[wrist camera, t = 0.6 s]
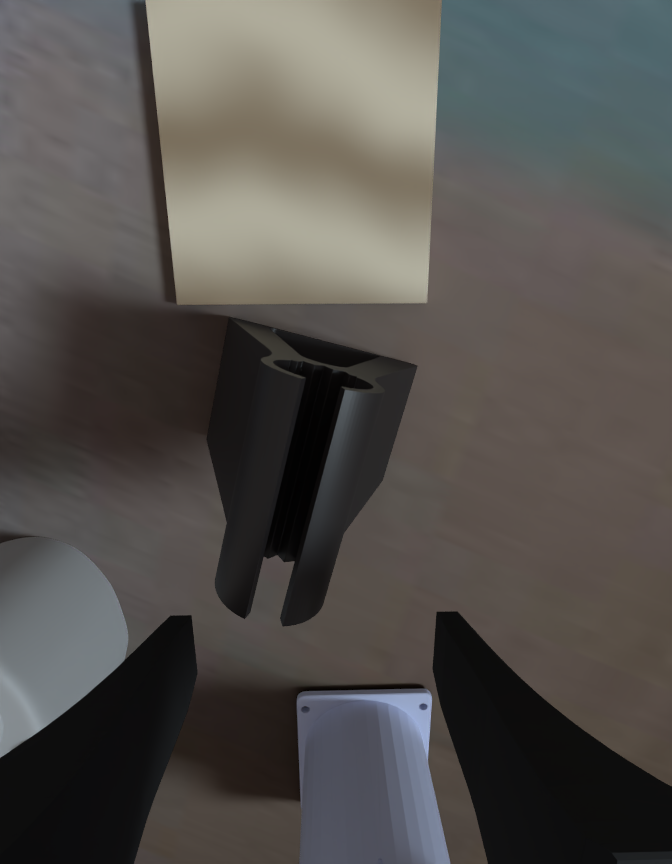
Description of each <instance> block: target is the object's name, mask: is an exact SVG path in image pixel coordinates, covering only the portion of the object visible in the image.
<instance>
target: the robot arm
mask: <svg viewBox="0 0 672 864" xmlns="http://www.w3.org/2000/svg"><path fill="white" fill-rule="evenodd" d="M433 673H434V678H435V682H436V687H437V692H438V696H439V701H440V705H441V708H442V711H443V714H444V717H445V720H446V723H447V726H448V730H449V733H450V736H451V739H452V741H453V744H454V747H455V750H456V753H457V756H458V759H459V762H460V765H461V768H462V771H463V774H464V777H465V780H466V783H467V786H468V789H469V792H470V795H471V799H472V802H473V806H474V809H475V812H476V816H477V820H478V824H479V828H480V832H481V836H482V841H483V845H484V849H485V853H486V857H487V861H488V864H672V787H671V786H669V785H667V784H666V783H664V782H662V781H660V780H659V779H657V778H655V777H654V776H652V775H650V774H649V773H647V772H646V771H644V770H642V769H641V768H639V767H637V766H636V765H634V764H633V763H631V762H629V761H628V760H626V759H625V758H623V757H622V756H620V755H619V754H617V753H615V752H614V751H612V750H611V749H609V748H608V747H607V746H605V745H604V744H602V743H601V742H599V741H598V740H597V739H595V738H594V737H592V736H591V735H589V734H588V733H587V732H585V731H584V730H582V729H581V728H580V727H578V726H577V725H576V724H574V723H573V722H572V721H570V720H569V719H568V718H567V717H565V716H564V715H563V714H562V713H560V712H559V711H558V710H557V709H555V708H554V707H553V706H552V705H550V704H549V703H548V702H547V701H546V700H544V699H543V698H542V697H541V696H540V695H539V694H537V693H536V692H535V691H534V690H533V689H532V688H531V687H530V686H529V685H528V684H526V683H525V682H524V681H523V680H522V679H521V678H520V677H519V676H518V675H517V674H516V673H515V672H514V671H513V670H512V669H511V668H510V667H509V666H508V665H507V664H506V663H505V662H504V661H503V660H502V659H501V658H500V657H499V656H498V655H497V654H496V653H495V652H494V651H493V650H492V649H491V648H490V647H489V646H488V645H487V644H486V642H485V641H484V640H483V639H482V638H481V637H480V636H479V635H478V634H477V633H476V631H475V630H474V629H473V628H472V627H471V626H470V625H469V624H468V623H467V621H466V620H465V619H464V618H463V617H462V616H461V615H460V614H459V613H458V612H437V615H436V629H435V643H434V657H433ZM196 677H197V664H196V654H195V645H194V635H193V626H192V617H191V615H188V616H170V617H169V618H168V619H167V620H166V621H165V622H163V623H162V624H161V625H160V626H159V627H158V628H157V629H156V630H155V631H154V632H153V633H152V634H151V635H150V636H149V637H148V638H147V639H146V640H145V641H144V642H143V643H142V644H141V645H140V646H139V647H138V648H137V649H136V650H135V651H134V652H133V653H132V654H131V655H130V656H129V657H128V658H127V659H125V660H124V661H123V662H122V663H121V664H120V665H119V666H118V667H117V668H116V669H115V670H114V671H113V672H112V673H111V674H109V675H108V676H107V677H106V678H105V679H104V680H103V681H101V682H100V683H99V684H98V685H97V686H96V687H95V688H93V689H92V690H91V691H90V692H89V693H88V694H87V695H86V696H84V697H83V698H82V699H81V700H79V701H78V702H77V703H76V704H74V705H73V706H72V707H71V708H69V709H68V710H67V711H66V712H64V713H63V714H62V715H60V716H59V717H58V718H56V719H55V720H54V721H52V722H51V723H50V724H49V725H47V726H46V727H44V728H43V729H42V730H40V731H39V732H37V733H36V734H35V735H33V736H32V737H30V738H29V739H27V740H26V741H24V742H23V743H21V744H20V745H18V746H17V747H15V748H14V749H12V750H11V751H10V752H8V753H7V754H5V755H4V756H2V757H1V758H0V864H134V861H135V858H136V854H137V851H138V847H139V844H140V841H141V837H142V834H143V830H144V827H145V824H146V820H147V817H148V814H149V812H150V809H151V806H152V803H153V800H154V797H155V795H156V792H157V790H158V787H159V784H160V782H161V779H162V777H163V774H164V771H165V769H166V766H167V764H168V761H169V758H170V756H171V753H172V751H173V748H174V745H175V743H176V740H177V738H178V735H179V732H180V730H181V727H182V724H183V722H184V719H185V716H186V714H187V711H188V708H189V704H190V700H191V697H192V693H193V689H194V685H195V681H196ZM423 703H424V704H423ZM421 704H422V705H421ZM431 705H432V697H431V693H430V691H429V690H427V689H423V688H420V689H378V690H336V691H304V692H301V693H299V694H298V696H297V723H298V748H299V773H300V797H301V809H302V819H301V839H300V860H299V864H450V860H449V855H448V851H447V846H446V842H445V837H444V833H443V829H442V824H441V820H440V815H439V811H438V806H437V802H436V797H435V793H434V788H433V784H432V779H431V775H430V770H429V766H428V749H429V735H430V720H431ZM304 706H307V707H304Z"/></svg>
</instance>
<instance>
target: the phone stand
mask: <svg viewBox="0 0 672 864" xmlns="http://www.w3.org/2000/svg"><path fill="white" fill-rule="evenodd" d="M416 369H417V365H414V364H411V363H407V362H403V361H399V360H395V359H391V358H388V357H384V356H380V355H376V354H372V353H368V352H364V351H361V350H357V349H353V348H349V347H345V346H341V345H338V344H334V343H330V342H325V341H322V340H318V339H314V338H311V337H307V336H303V335H299V334H295V333H291V332H287V331H284V330H280V329H276V328H272V327H268V326H264V325H260V324H257V323H253V322H249V321H245V320H241V319H237V318H233V317H229V320H228V326H227V331H226V336H225V342H224V347H223V353H222V358H221V364H220V369H219V375H218V380H217V386H216V391H215V397H214V402H213V407H212V413H211V418H210V424H209V429H208V435H207V443H208V447H209V451H210V455H211V459H212V463H213V467H214V472H215V476H216V480H217V484H218V488H219V492H220V496H221V500H222V504H223V508H224V513H225V517H226V521H227V525H226V529H225V534H224V539H223V544H222V549H221V554H220V558H219V563H218V568H217V573H216V578H215V588H216V592H217V594H218V596H219V598H220V600H221V601H222V602H223V604H224V605H225V606H226V607H227V608H228V609H230V610H231V611H232V612H234V613H235V614H237V615H238V616H240V617H242V618H244V619H245V618H246V617H247V615H248V614H249V613H250V611H251V607H252V603H253V598H254V594H255V590H256V586H257V582H258V578H259V573H260V569H261V565H262V561H263V557H266V558H268V559H269V558H271V557H273V556H275V555H278V556H279V557H280V558H281V559H282V560H283V561H284V562H290V561H295V563H294V567H293V571H292V575H291V578H290V582H289V586H288V590H287V594H286V598H285V601H284V605H283V609H282V613H281V617H280V619H281V623H282V626H291V625H296V624H300V623H303V622H305V621H307V620H309V619H311V618H312V617H314V616H315V615H316V614H317V613H318V612H319V611H320V609H321V608H322V606H323V603H324V600H325V596H326V593H327V589H328V586H329V582H330V579H331V575H332V572H333V569H334V565H335V562H336V558H337V555H338V551H339V548H340V544H341V541H342V538H343V534H344V532H345V531H346V530H347V528H348V527H349V526H350V524H351V523H352V521H353V520H354V519H355V517H356V516H357V515H358V513H359V512H360V511H361V509H362V508H363V506H364V505H365V504H366V502H367V501H368V500H369V498H370V497H371V495H372V494H373V493H374V491H375V490H376V489H377V487H378V486H379V485H380V483H381V482H382V480H383V477H384V474H385V471H386V467H387V464H388V461H389V458H390V454H391V451H392V448H393V444H394V441H395V438H396V435H397V431H398V428H399V425H400V422H401V418H402V415H403V412H404V409H405V405H406V402H407V399H408V395H409V392H410V389H411V386H412V382H413V379H414V376H415V373H416Z"/></svg>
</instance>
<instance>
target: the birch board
mask: <svg viewBox="0 0 672 864" xmlns="http://www.w3.org/2000/svg"><path fill="white" fill-rule="evenodd" d="M441 4H442V0H146V9H147V19H148V29H149V38H150V48H151V58H152V67H153V77H154V87H155V96H156V106H157V116H158V125H159V135H160V145H161V154H162V164H163V174H164V183H165V193H166V203H167V212H168V222H169V231H170V241H171V251H172V260H173V270H174V280H175V289H176V299H177V305H252V304H394V303H427V292H428V271H429V250H430V230H431V209H432V189H433V168H434V148H435V127H436V107H437V86H438V66H439V45H440V25H441Z"/></svg>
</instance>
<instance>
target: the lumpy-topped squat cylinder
mask: <svg viewBox="0 0 672 864" xmlns="http://www.w3.org/2000/svg"><path fill="white" fill-rule="evenodd" d="M127 645H128V631H127V626H126V622H125V619H124V615H123V612H122V609H121V607H120V604H119V601H118V599H117V596H116V594H115V592H114V590H113V588H112V586H111V584H110V583H109V581H108V580H107V579H106V577H105V576H104V575H103V573H102V572H101V571H100V570H99V569H98V567H97V566H96V565H95V564H94V563H93V562H92V561H91V560H90V559H89V558H88V557H87V556H85V555H84V554H83V553H82V552H80V551H79V550H78V549H76V548H74V547H73V546H71V545H69V544H66V543H64V542H61V541H58V540H55V539H51V538H45V537H25V538H19V539H14V540H10V541H6V542H3V543H0V758H1V757H2V756H4V755H5V754H7V753H8V752H10V751H11V750H12V749H14V748H15V747H17V746H18V745H20V744H21V743H23V742H24V741H26V740H27V739H29V738H30V737H32V736H33V735H35V734H36V733H37V732H39V731H40V730H42V729H43V728H44V727H46V726H47V725H49V724H50V723H51V722H52V721H54V720H55V719H56V718H58V717H59V716H60V715H62V714H63V713H64V712H66V711H67V710H68V709H69V708H71V707H72V706H73V705H74V704H76V703H77V702H78V701H79V700H81V699H82V698H83V697H84V696H86V695H87V694H88V693H89V692H90V691H91V690H92V689H93V688H95V687H96V686H97V685H98V684H99V683H100V682H101V681H103V680H104V679H105V678H106V677H107V676H108V675H109V674H111V673H112V672H113V671H114V670H115V669H116V668H117V667H118V666H119V665H120V664H121V663H122V662H123V661H124V659H125V655H126V651H127Z"/></svg>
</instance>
